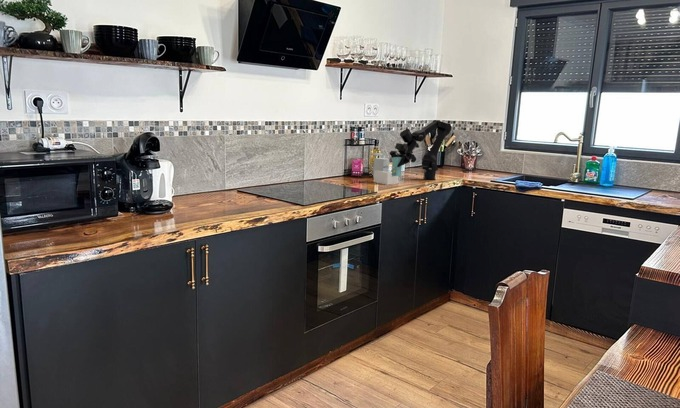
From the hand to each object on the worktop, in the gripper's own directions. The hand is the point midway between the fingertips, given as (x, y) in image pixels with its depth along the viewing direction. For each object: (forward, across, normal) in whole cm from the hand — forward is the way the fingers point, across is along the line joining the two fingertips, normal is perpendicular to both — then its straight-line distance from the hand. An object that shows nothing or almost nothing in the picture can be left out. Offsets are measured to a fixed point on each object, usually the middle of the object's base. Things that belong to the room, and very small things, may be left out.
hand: (395, 166), depth 308 cm
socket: (+11, 0, +2) cm, 12 cm away
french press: (-3, -32, +17) cm, 36 cm away
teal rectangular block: (+4, 0, +6) cm, 7 cm away
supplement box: (+2, -20, +12) cm, 23 cm away
